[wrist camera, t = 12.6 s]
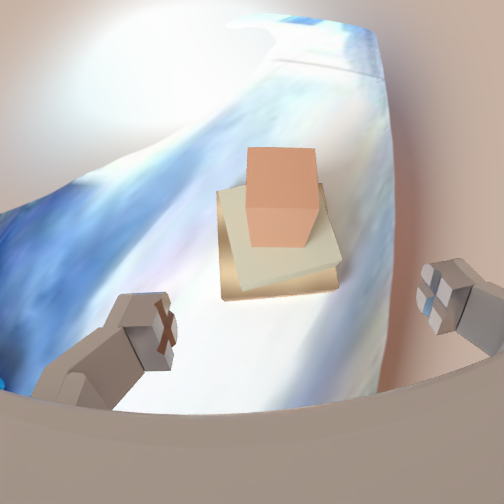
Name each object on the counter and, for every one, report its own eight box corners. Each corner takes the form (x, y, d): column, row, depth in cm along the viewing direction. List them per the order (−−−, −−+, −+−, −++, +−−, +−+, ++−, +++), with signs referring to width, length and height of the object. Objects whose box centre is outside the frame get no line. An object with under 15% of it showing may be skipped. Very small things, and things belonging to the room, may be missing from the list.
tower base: (332, 292, 31) (338, 287, 28) (225, 302, 31) (221, 298, 28) (317, 195, 34) (321, 183, 31) (220, 203, 34) (216, 191, 31)
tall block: (304, 247, 26) (319, 208, 18) (251, 246, 26) (245, 207, 18) (302, 199, 27) (314, 148, 19) (252, 199, 27) (247, 147, 20)
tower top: (335, 267, 28) (342, 259, 25) (242, 291, 28) (240, 286, 25) (307, 185, 31) (311, 170, 28) (222, 204, 30) (218, 191, 28)
